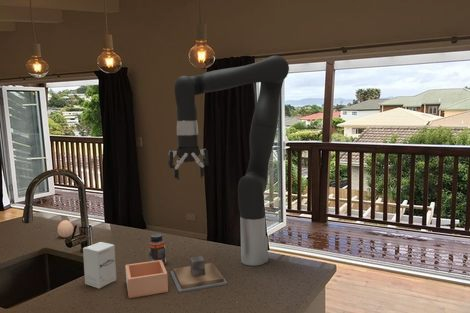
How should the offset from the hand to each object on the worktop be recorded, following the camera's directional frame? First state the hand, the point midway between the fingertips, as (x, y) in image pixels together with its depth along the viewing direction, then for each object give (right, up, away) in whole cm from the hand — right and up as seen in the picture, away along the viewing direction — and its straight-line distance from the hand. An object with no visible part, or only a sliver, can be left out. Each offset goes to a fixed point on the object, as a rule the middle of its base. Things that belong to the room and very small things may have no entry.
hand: (189, 178), depth 142 cm
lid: (+4, -33, -9) cm, 34 cm away
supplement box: (-28, -34, -10) cm, 46 cm away
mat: (+4, -33, -9) cm, 35 cm away
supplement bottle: (-12, -32, +4) cm, 35 cm away
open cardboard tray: (-12, -34, -14) cm, 39 cm away
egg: (-61, -29, +38) cm, 77 cm away
